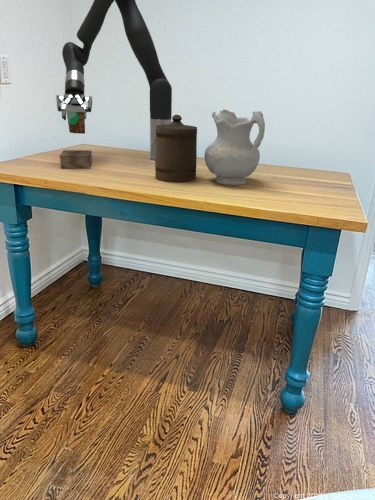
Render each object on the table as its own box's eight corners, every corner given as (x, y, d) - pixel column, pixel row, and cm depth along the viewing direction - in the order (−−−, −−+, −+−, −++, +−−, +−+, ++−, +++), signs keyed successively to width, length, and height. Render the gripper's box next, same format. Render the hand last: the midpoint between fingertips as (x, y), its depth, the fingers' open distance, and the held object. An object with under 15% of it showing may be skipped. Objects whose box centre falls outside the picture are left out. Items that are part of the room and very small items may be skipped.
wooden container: (178, 171, 162) (179, 112, 153) (204, 179, 151) (207, 116, 143) (147, 176, 153) (146, 113, 144) (172, 184, 142) (173, 117, 134)
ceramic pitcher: (270, 184, 151) (280, 113, 143) (250, 191, 135) (259, 110, 127) (217, 176, 161) (223, 109, 153) (192, 182, 145) (198, 106, 137)
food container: (63, 130, 165) (61, 103, 161) (79, 129, 168) (77, 103, 164) (69, 134, 155) (67, 106, 151) (86, 134, 158) (84, 106, 154)
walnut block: (92, 162, 173) (91, 150, 171) (90, 168, 162) (89, 155, 160) (64, 162, 171) (63, 150, 169) (60, 168, 160) (59, 155, 158)
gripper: (54, 77, 162) (53, 111, 155) (92, 78, 164) (92, 112, 158) (57, 91, 168) (56, 125, 162) (93, 92, 171) (93, 125, 164)
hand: (74, 118), depth 160 cm, fingers closed on food container, 6 cm apart
